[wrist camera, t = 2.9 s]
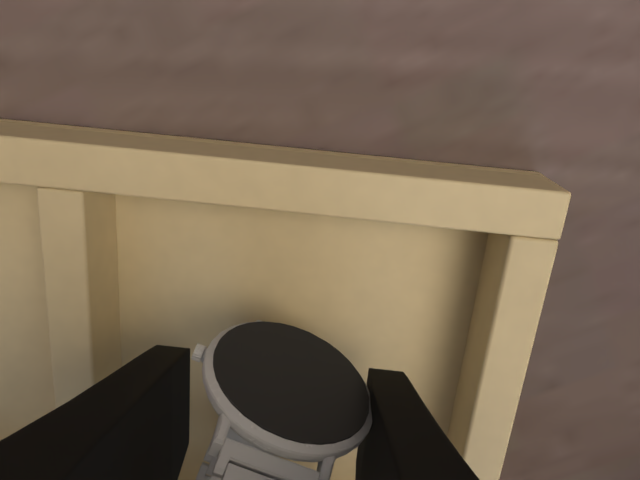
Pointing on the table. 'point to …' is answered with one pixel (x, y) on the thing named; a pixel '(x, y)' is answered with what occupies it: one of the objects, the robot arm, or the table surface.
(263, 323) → the wristwatch
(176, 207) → the four-compartment tray
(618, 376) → the table surface
